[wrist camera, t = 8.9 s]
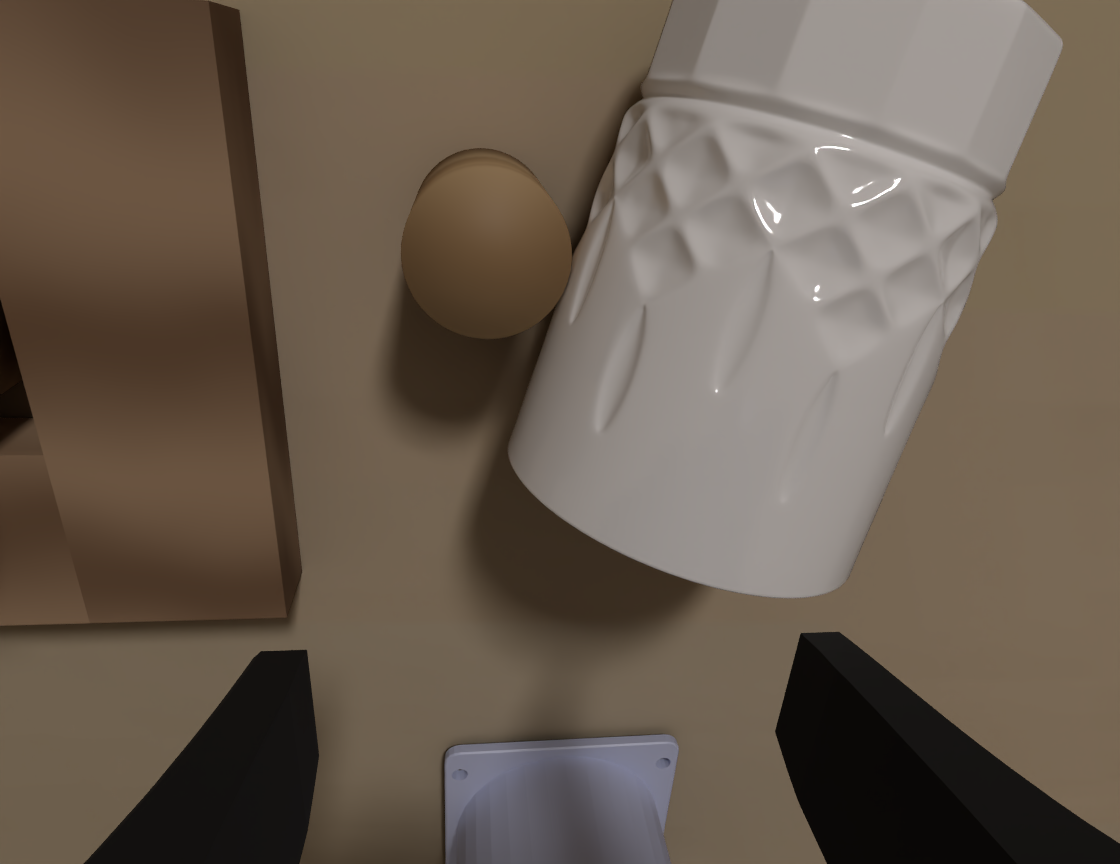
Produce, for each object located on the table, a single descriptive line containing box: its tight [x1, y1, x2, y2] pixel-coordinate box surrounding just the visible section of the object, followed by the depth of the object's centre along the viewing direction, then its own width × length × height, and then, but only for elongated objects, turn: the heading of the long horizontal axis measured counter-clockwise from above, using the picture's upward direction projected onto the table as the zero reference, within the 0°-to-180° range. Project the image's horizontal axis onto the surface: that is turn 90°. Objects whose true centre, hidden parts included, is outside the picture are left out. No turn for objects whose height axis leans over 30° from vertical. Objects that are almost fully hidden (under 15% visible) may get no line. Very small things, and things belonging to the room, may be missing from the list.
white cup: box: [508, 0, 1063, 598], centre depth 15 cm, size 8×8×10 cm
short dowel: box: [401, 148, 572, 339], centre depth 16 cm, size 3×3×4 cm
